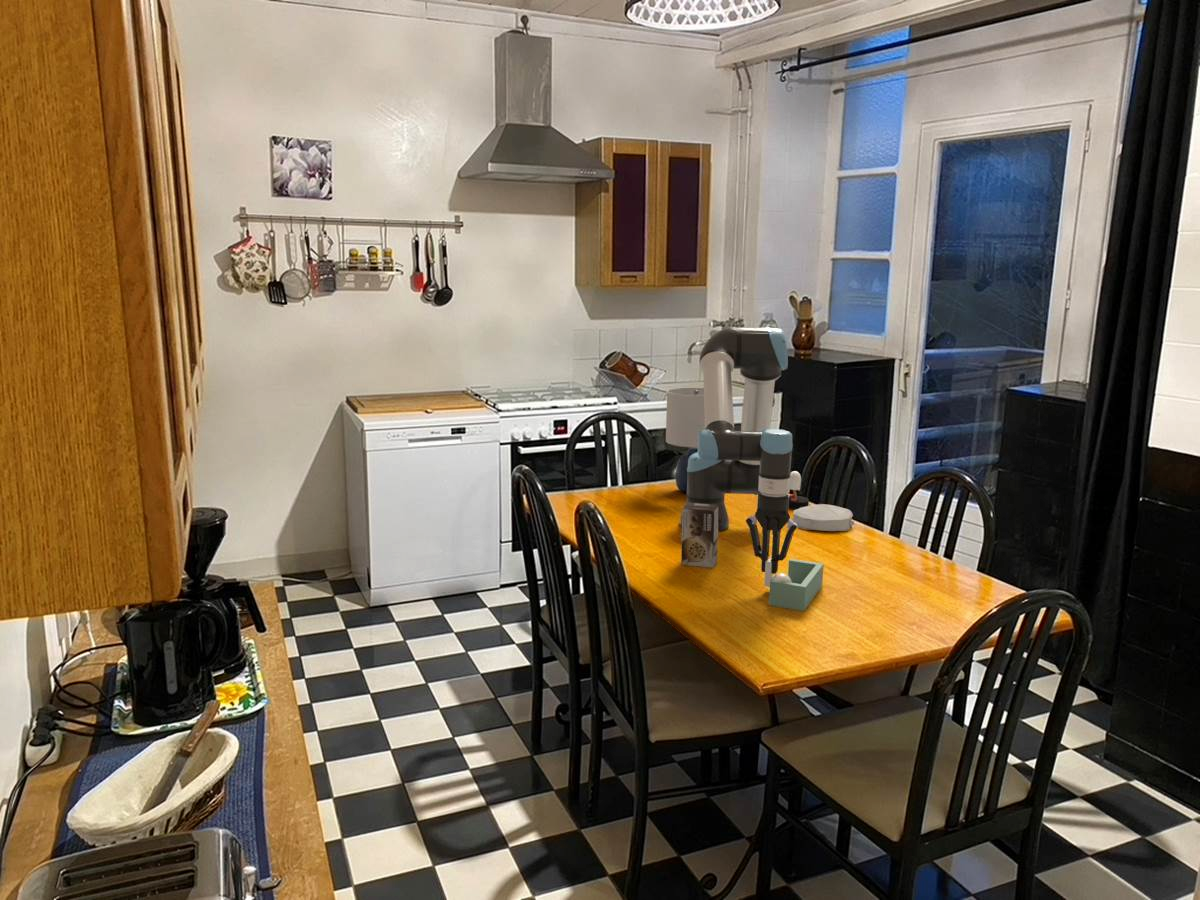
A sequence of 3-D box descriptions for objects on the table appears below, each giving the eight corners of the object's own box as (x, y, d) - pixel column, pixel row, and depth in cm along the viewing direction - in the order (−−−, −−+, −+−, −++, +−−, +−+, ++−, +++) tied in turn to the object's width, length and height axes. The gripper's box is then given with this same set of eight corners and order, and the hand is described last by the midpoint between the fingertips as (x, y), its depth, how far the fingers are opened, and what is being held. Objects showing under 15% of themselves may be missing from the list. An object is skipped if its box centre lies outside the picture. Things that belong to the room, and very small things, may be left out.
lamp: (661, 497, 314) (664, 392, 307) (667, 483, 334) (669, 385, 326) (720, 500, 311) (724, 394, 304) (722, 486, 331) (726, 387, 323)
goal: (768, 605, 216) (770, 581, 215) (789, 580, 232) (790, 558, 231) (804, 611, 212) (805, 587, 211) (822, 586, 229) (823, 563, 228)
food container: (844, 538, 272) (846, 516, 270) (781, 526, 282) (782, 505, 280) (862, 523, 288) (864, 503, 287) (802, 512, 298) (804, 493, 297)
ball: (768, 575, 222) (788, 578, 220) (774, 569, 226) (794, 572, 224) (768, 594, 223) (788, 597, 221) (774, 588, 227) (793, 591, 225)
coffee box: (718, 561, 247) (720, 504, 244) (713, 568, 241) (715, 510, 238) (685, 557, 250) (687, 501, 247) (680, 564, 244) (681, 507, 241)
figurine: (774, 501, 311) (776, 467, 309) (807, 502, 310) (809, 468, 307) (775, 508, 302) (777, 473, 300) (809, 509, 301) (811, 474, 298)
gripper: (743, 493, 220) (738, 585, 224) (796, 500, 214) (790, 594, 219) (752, 486, 226) (748, 576, 231) (803, 493, 221) (798, 584, 225)
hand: (768, 584), depth 225 cm, fingers closed
